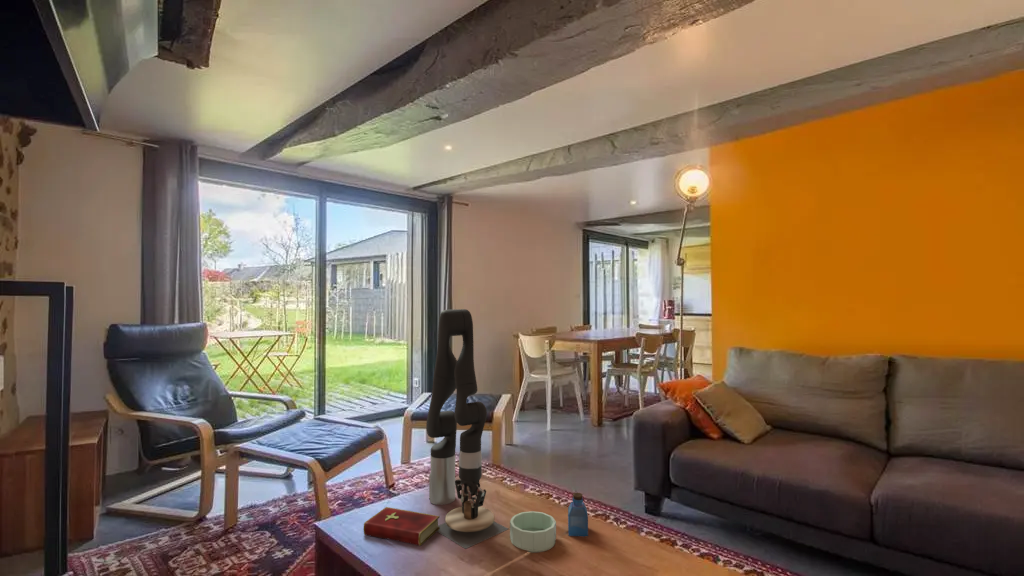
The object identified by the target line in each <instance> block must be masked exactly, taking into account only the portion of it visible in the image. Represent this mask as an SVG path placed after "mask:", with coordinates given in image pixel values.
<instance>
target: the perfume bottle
mask: <svg viewBox="0 0 1024 576" xmlns="http://www.w3.org/2000/svg"><path fill="white" fill-rule="evenodd" d="M567 525H568V526H567V527H568V528H567V530H568V532H567V533H568V537H585V536H588V537H589V515H588V508H587V506H586V504H585V502H584V497H583V493H581V492H574V493H573V494H572V501H571V502H570V504H569V506H568V508H567Z"/></svg>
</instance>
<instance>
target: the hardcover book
mask: <svg viewBox="0 0 1024 576" xmlns="http://www.w3.org/2000/svg"><path fill="white" fill-rule="evenodd" d="M439 518H440V515H435V514H429V513H424V512H423V513H422V512H417V511H413V510H412V511H411V510H406V509H401V508H394V507H389V506H386V507H384V508H383V509H381V510H379V511H378V512H377V513H375V514H374V515H373V516H372V517H370V518H369V519H368V520H367V519H366V521H365V522H363V535H364V536H369V537H374V538H378V539H383V540H392V541H397V542H401V543H406V544H411V545H413V546H414V545H415V546H420V547H421V546H422V545H423V544H424V543H425V542H426V541H428V540H429V539H430V538H431V537H432V536H433V535H435V533H437V530H438V529H439V528H440V527H438V525H439Z"/></svg>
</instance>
